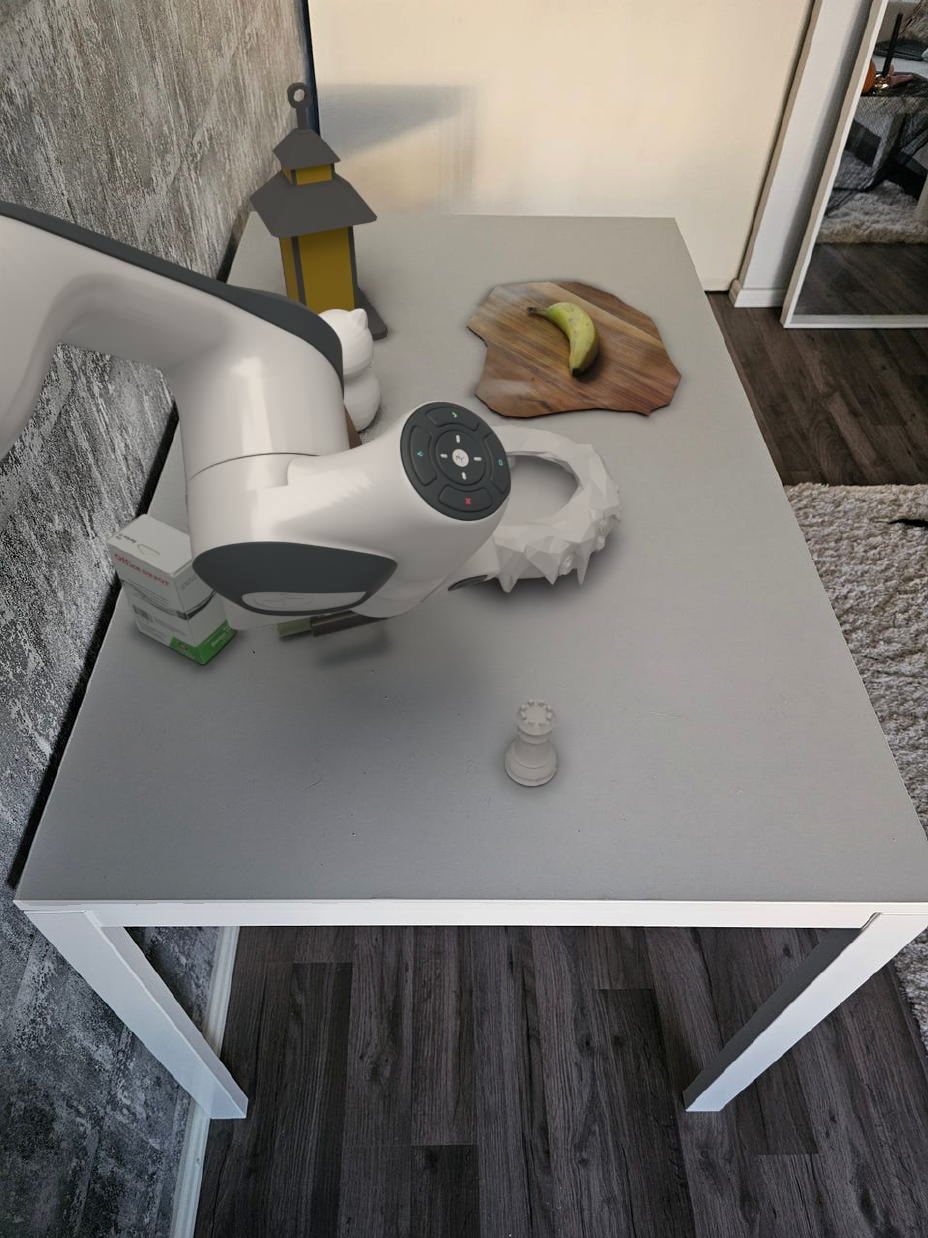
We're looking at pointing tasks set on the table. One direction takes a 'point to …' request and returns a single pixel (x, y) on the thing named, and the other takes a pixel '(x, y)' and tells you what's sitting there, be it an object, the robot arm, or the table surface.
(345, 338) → the cat figurine
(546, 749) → the rook chess piece
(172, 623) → the ink box
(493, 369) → the cutting board
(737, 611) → the table surface
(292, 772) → the table surface
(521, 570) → the bowl
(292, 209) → the lantern
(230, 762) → the table surface
